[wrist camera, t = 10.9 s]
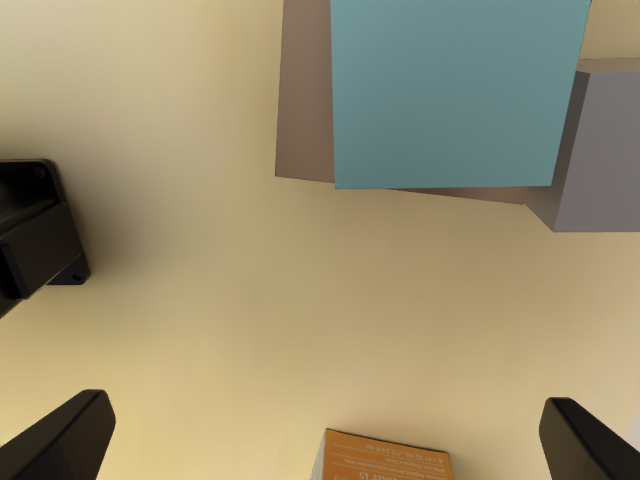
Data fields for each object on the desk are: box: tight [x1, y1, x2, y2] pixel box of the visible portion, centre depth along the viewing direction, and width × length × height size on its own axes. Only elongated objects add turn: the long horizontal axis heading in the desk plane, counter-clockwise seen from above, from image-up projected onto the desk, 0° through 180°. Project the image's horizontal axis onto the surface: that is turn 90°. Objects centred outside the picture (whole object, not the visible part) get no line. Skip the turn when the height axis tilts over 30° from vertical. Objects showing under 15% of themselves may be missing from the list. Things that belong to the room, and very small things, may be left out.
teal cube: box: [330, 0, 591, 189], centre depth 11 cm, size 5×5×5 cm
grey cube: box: [524, 58, 640, 232], centre depth 15 cm, size 5×5×5 cm
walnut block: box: [275, 0, 592, 204], centre depth 15 cm, size 9×9×4 cm
